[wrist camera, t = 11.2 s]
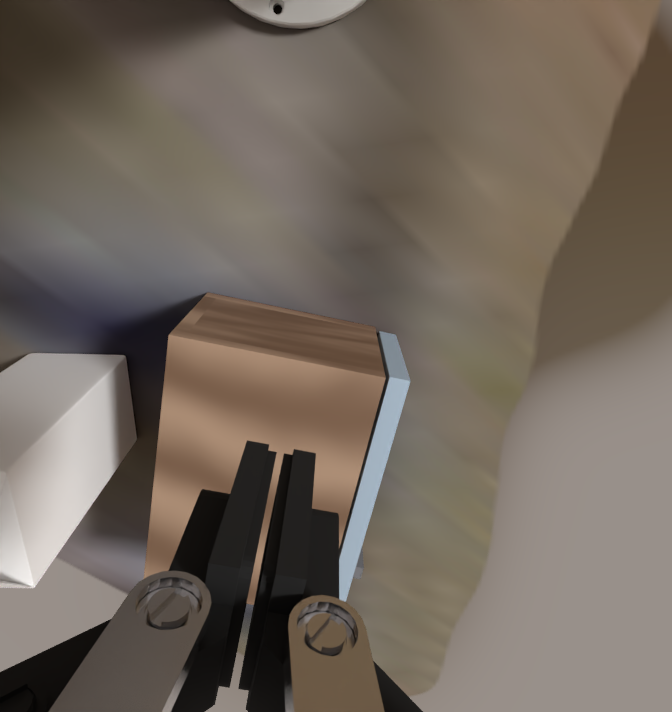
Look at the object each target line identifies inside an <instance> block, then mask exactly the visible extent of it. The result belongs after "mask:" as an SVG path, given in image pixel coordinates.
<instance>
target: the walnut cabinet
mask: <svg viewBox="0 0 672 712" xmlns="http://www.w3.org/2000/svg"><path fill="white" fill-rule="evenodd" d="M385 379H386V376H385V372H384V367H383V362H382V357H381V353H380V348H379V343H378V338H377V334H376V329H375V327H373V326H368V325H364V324H359V323H354V322H349V321H344V320H339V319H334V318H330V317H325V316H320V315H315V314H310V313H305V312H301V311H296V310H291V309H286V308H281V307H276V306H271V305H267V304H262V303H257V302H252V301H247V300H242V299H237V298H233V297H228V296H223V295H218V294H213V293H207V294H206V295H205V296H204V297H203V298H202V299H201V300H200V301H199V302H198V303H197V305H196V306H195V307H194V308H193V309H192V310H191V311H190V312H189V313H188V314H187V315H186V316H185V318H184V319H183V320H182V321H181V322H180V323H179V324H178V325H177V326H176V327H175V328H174V330H173V331H172V332H171V333H170V334H169V337H168V347H167V356H166V366H165V376H164V386H163V395H162V405H161V415H160V425H159V435H158V444H157V454H156V464H155V474H154V483H153V493H152V503H151V513H150V522H149V532H148V542H147V552H146V561H145V571H144V579H145V578H146V577H148V576H150V575H153V574H156V573H159V572H163V571H168V570H169V568H170V566H171V563H172V561H173V558H174V556H175V553H176V551H177V548H178V546H179V543H180V541H181V538H182V536H183V533H184V531H185V528H186V526H187V523H188V521H189V518H190V516H191V513H192V511H193V508H194V506H195V504H196V501H197V499H198V496H199V494H200V492H201V490H202V489H205V490H211V491H217V492H222V493H228V494H230V493H231V490H232V486H233V483H234V480H235V477H236V474H237V470H238V467H239V464H240V461H241V458H242V455H243V451H244V448H245V445H246V442H247V440H248V441H254V442H259V443H264V444H269V449H268V450H269V451H274V452H277V454H276V459H275V464H274V469H273V474H272V479H271V484H270V489H269V494H268V499H267V504H266V509H265V514H264V519H263V524H262V529H261V534H260V539H259V544H258V549H257V554H256V559H255V564H254V569H253V573H252V578H251V583H250V588H249V593H248V598H247V603H246V604H252V605H254V602H255V596H256V591H257V585H258V580H259V575H260V569H261V564H262V558H263V553H264V548H265V543H266V538H267V533H268V528H269V523H270V519H271V514H272V509H273V504H274V499H275V494H276V489H277V485H278V480H279V475H280V470H281V465H282V460H283V456H284V453H285V454H290V455H292V454H293V450H294V449H297V450H302V451H307V452H313V453H316V460H315V474H314V487H313V501H312V509H318V510H323V511H329V512H335V513H338V514H339V548H340V544H341V541H342V537H343V533H344V530H345V526H346V522H347V519H348V515H349V511H350V508H351V504H352V500H353V497H354V493H355V489H356V486H357V482H358V478H359V475H360V471H361V467H362V464H363V460H364V456H365V453H366V449H367V445H368V442H369V438H370V434H371V431H372V427H373V423H374V420H375V416H376V412H377V408H378V405H379V401H380V397H381V394H382V390H383V386H384V383H385Z"/></svg>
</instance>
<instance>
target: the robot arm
mask: <svg viewBox="0 0 672 712" xmlns="http://www.w3.org/2000/svg"><path fill="white" fill-rule="evenodd" d="M229 1H231V2H232V3H233V4H234V5H235V6H237V7H238V8H239V9H240V10H241V11H243V12H245V13H247V14H249V15H250V16H252V17H254V18H256V19H258V20H260V21H262V22H265V23H269V24H272V25H275V26H278V27H284V28H297V29H304V28H311V27H318V26H323V25H326V24H328V23H331V22H334V21H336V20H339V19H342V18H343V17H345V16H346V15H348V14H350V13H351V12H353V11H354V10H356V9H357V8H359V7H360V6H361V5H362V4H363V3H364V2H365V1H367V0H229ZM277 5H280V6H281V7H282V12H281V13H280V14H275V13H274V7H275V6H277ZM268 449H269V444H264V443H259V442H254V441H248V440H247V442H246V445H245V448H244V451H243V455H242V458H241V461H240V464H239V467H238V470H237V474H236V477H235V480H234V483H233V486H232V490H231V493H230V494H228V493H222V492H217V491H211V490H205V489H202V490H201V492H200V494H199V496H198V499H197V501H196V504H195V506H194V508H193V511H192V513H191V516H190V518H189V521H188V523H187V526H186V528H185V531H184V533H183V536H182V538H181V541H180V543H179V546H178V548H177V551H176V553H175V556H174V558H173V561H172V563H171V566H170V568H169V570H168V571H163V572H159V573H156V574H153V575H150V576H148V577H146V578H145V579H143V580H142V581H140V582H139V583H138V584H137V585H136V586H135V587H134V588H133V589H132V590H131V591H130V593H129V594H128V596H127V597H126V599H125V600H124V602H123V603H122V605H121V606H120V608H119V609H118V611H117V612H116V614H115V615H114V616H113V618H112V619H110V620H108V621H106V622H104V623H102V624H100V625H98V626H96V627H94V628H92V629H89V630H88V631H85V632H83V633H81V634H79V635H77V636H75V637H73V638H71V639H69V640H67V641H65V642H63V643H60V644H58V645H56V646H54V647H52V648H50V649H48V650H46V651H44V652H42V653H39V654H37V655H36V656H33V657H31V658H29V659H27V660H25V661H23V662H21V663H19V664H16V665H15V666H12V667H10V668H8V669H6V670H4V671H2V672H0V712H205V711H206V710H208V709H209V708H211V707H212V706H213V705H215V700H216V696H217V692H218V687H219V686H223V687H230V682H231V678H232V673H233V667H234V663H235V658H236V653H237V648H238V643H239V638H240V633H241V628H242V623H243V618H244V613H245V608H246V603H247V598H248V593H249V588H250V583H251V578H252V573H253V569H254V564H255V559H256V554H257V549H258V544H259V539H260V534H261V529H262V524H263V519H264V514H265V509H266V504H267V499H268V494H269V489H270V484H271V479H272V474H273V469H274V464H275V459H276V454H277V452H274V451H269V450H268ZM315 460H316V453H313V452H307V451H302V450H297V449H294V450H293V454H292V455H290V454H285V453H284V456H283V460H282V465H281V470H280V475H279V480H278V485H277V489H276V494H275V499H274V504H273V509H272V514H271V519H270V523H269V528H268V533H267V538H266V543H265V548H264V553H263V558H262V564H261V569H260V575H259V580H258V585H257V591H256V596H255V602H254V607H253V612H252V618H251V623H250V629H249V634H248V639H247V645H246V650H245V656H244V661H243V667H242V672H241V677H240V683H239V689H243V690H249V694H248V699H247V705H246V710H247V711H248V712H423V711H421V709H420V708H419V707H418V706H417V705H416V704H415V703H414V702H412V700H411V699H410V698H409V697H408V696H407V695H406V694H405V693H404V692H403V691H402V690H401V689H400V688H399V687H398V686H397V685H396V684H395V683H394V682H393V681H392V680H391V679H390V678H389V676H388V675H387V674H386V673H385V672H384V671H383V670H382V669H381V668H380V667H379V666H378V665H377V664H376V663H375V662H374V661H373V658H372V653H371V649H370V644H369V640H368V635H367V631H366V627H365V625H364V622H363V620H362V618H361V616H360V615H359V614H358V613H357V611H356V610H355V609H354V608H353V607H351V606H350V605H349V604H347V603H346V602H345V601H342V600H340V599H339V514H338V513H335V512H329V511H323V510H318V509H312V501H313V487H314V474H315Z"/></svg>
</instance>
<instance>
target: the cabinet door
mask: <svg viewBox="0 0 672 712" xmlns="http://www.w3.org/2000/svg"><path fill="white" fill-rule="evenodd" d="M378 343H379V348H380V353H381V357H382V362H383V367H384V372H385V376H386V379H385V383H384V386H383V390H382V394H381V397H380V401H379V405H378V408H377V412H376V416H375V420H374V423H373V427H372V431H371V434H370V438H369V442H368V445H367V449H366V453H365V456H364V460H363V464H362V467H361V471H360V475H359V478H358V482H357V486H356V489H355V493H354V497H353V500H352V504H351V508H350V511H349V515H348V519H347V522H346V526H345V530H344V533H343V537H342V541H341V544H340V548H339V599H340V600H342V601H345V602H346V599H347V595H348V592H349V589H350V585H351V582H352V578H357V579H361V575H362V572H363V569H364V567H363V551H362V544H363V541H364V537H365V534H366V531H367V527H368V524H369V520H370V517H371V514H372V510H373V507H374V503H375V500H376V497H377V493H378V490H379V486H380V483H381V480H382V476H383V473H384V469H385V466H386V462H387V459H388V456H389V452H390V449H391V445H392V442H393V439H394V435H395V432H396V428H397V425H398V422H399V418H400V415H401V411H402V408H403V405H404V401H405V398H406V394H407V391H408V388H409V384H410V378H409V375H408V372H407V369H406V366H405V362H404V359H403V356H402V353H401V350H400V346H399V343H398V340H397V337H396V335H395V334H390V333H385V332H381V331H379V334H378Z"/></svg>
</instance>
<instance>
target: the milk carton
mask: <svg viewBox="0 0 672 712" xmlns="http://www.w3.org/2000/svg"><path fill="white" fill-rule="evenodd" d="M136 440H137V435H136V427H135V420H134V413H133V405H132V398H131V390H130V383H129V376H128V368H127V361H126V356H125V355H103V354H57V353H30V354H28V355H26V356H25V357H23V358H22V359H20V360H19V361H17V362H16V363H14V364H13V365H11V366H10V367H8V368H7V369H5V370H3V371H2V372H0V588H35V586H36V584H37V583H38V582H39V580H40V579H41V577H42V576H43V574H44V573H45V572H46V570H47V569H48V567H49V566H50V564H51V563H52V561H53V560H54V559H55V557H56V556H57V554H58V553H59V551H60V550H61V549H62V547H63V546H64V544H65V543H66V541H67V540H68V538H69V537H70V536H71V534H72V533H73V531H74V530H75V528H76V527H77V525H78V524H79V523H80V521H81V520H82V518H83V517H84V515H85V514H86V513H87V511H88V510H89V508H90V507H91V505H92V504H93V502H94V501H95V500H96V498H97V497H98V495H99V494H100V492H101V491H102V490H103V488H104V487H105V485H106V484H107V482H108V481H109V479H110V478H111V477H112V475H113V474H114V472H115V471H116V469H117V468H118V467H119V465H120V464H121V462H122V461H123V459H124V458H125V456H126V455H127V454H128V452H129V451H130V449H131V448H132V446H133V445H134V443H135V442H136Z"/></svg>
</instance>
